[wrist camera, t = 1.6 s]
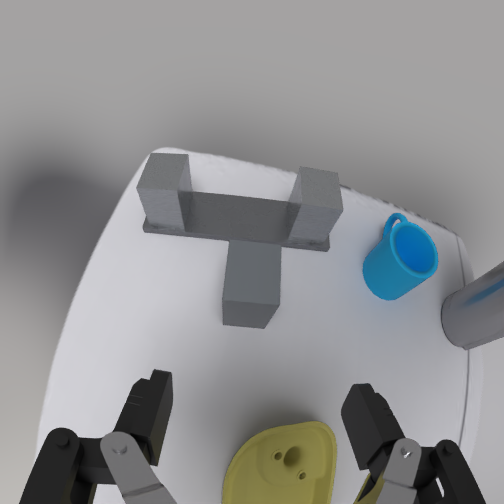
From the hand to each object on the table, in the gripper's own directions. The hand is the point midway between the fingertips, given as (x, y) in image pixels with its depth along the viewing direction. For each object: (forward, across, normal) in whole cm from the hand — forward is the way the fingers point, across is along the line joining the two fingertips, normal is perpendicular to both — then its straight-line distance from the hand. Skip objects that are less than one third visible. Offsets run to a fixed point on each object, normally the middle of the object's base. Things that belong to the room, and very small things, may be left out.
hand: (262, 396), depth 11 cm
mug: (+28, -21, +1) cm, 35 cm away
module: (+22, 0, +7) cm, 23 cm away
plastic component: (+6, -6, +24) cm, 26 cm away
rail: (+31, +2, -2) cm, 31 cm away
